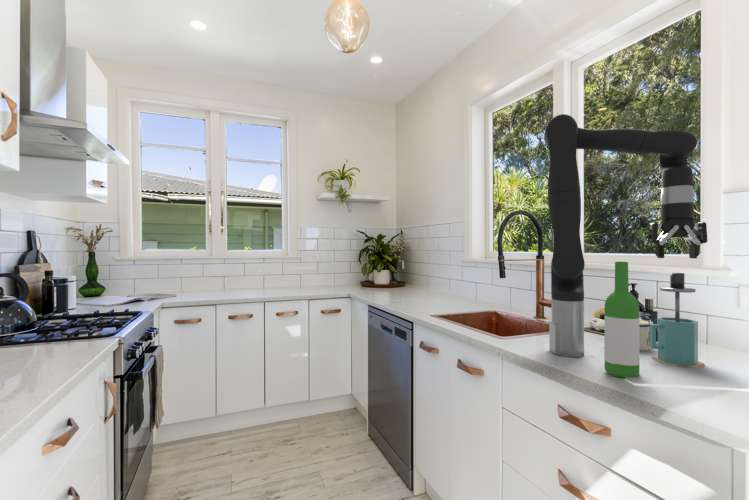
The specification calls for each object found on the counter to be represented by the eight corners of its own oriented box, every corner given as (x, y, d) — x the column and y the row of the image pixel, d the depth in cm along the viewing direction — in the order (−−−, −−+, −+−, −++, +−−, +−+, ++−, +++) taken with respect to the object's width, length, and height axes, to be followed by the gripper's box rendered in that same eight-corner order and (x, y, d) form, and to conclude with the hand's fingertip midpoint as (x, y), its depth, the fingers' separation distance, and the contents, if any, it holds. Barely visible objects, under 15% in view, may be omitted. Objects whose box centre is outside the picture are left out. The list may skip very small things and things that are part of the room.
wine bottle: (637, 381, 92) (637, 262, 92) (601, 374, 97) (601, 261, 97) (641, 374, 98) (641, 261, 98) (607, 367, 103) (607, 261, 103)
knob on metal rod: (671, 327, 104) (670, 273, 104) (654, 321, 112) (654, 272, 112) (702, 328, 103) (702, 274, 103) (683, 322, 111) (683, 272, 111)
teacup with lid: (655, 353, 118) (655, 316, 118) (623, 351, 120) (623, 315, 120) (638, 343, 129) (638, 310, 129) (609, 342, 131) (609, 309, 131)
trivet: (667, 368, 102) (667, 366, 102) (643, 356, 114) (643, 354, 114) (716, 370, 100) (716, 368, 100) (686, 358, 112) (686, 356, 112)
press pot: (659, 364, 104) (659, 322, 104) (642, 355, 112) (642, 316, 112) (704, 366, 102) (704, 323, 102) (683, 357, 111) (683, 317, 111)
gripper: (657, 201, 105) (657, 258, 105) (714, 200, 102) (714, 258, 102) (642, 204, 112) (642, 257, 112) (695, 203, 110) (695, 258, 110)
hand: (676, 258), depth 107 cm, fingers open, 8 cm apart
